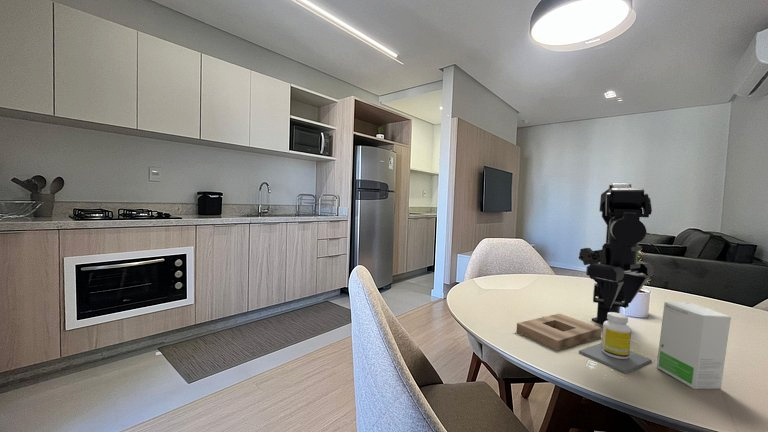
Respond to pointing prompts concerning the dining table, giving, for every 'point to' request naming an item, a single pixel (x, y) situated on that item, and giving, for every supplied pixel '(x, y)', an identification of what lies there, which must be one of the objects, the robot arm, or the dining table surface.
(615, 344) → the supplement bottle
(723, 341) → the skincare box
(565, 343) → the wooden block with hole
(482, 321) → the dining table surface
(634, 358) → the rubber mat
